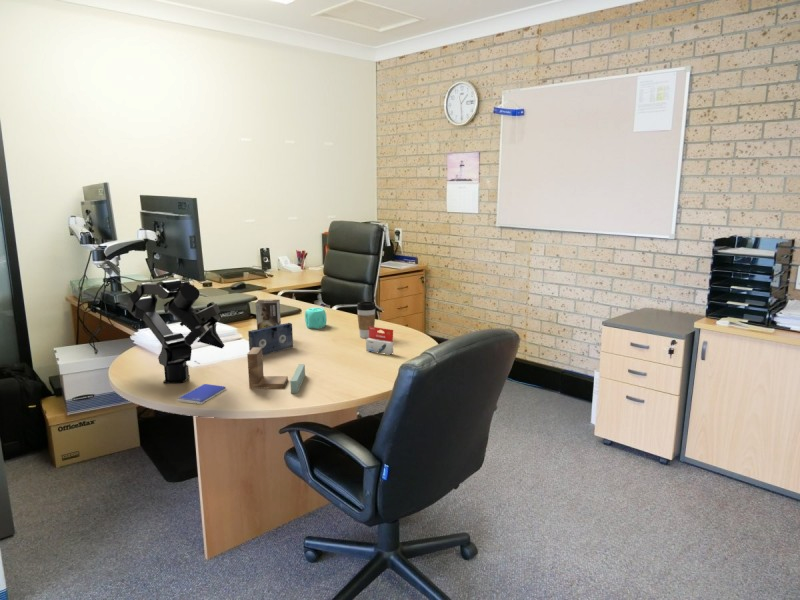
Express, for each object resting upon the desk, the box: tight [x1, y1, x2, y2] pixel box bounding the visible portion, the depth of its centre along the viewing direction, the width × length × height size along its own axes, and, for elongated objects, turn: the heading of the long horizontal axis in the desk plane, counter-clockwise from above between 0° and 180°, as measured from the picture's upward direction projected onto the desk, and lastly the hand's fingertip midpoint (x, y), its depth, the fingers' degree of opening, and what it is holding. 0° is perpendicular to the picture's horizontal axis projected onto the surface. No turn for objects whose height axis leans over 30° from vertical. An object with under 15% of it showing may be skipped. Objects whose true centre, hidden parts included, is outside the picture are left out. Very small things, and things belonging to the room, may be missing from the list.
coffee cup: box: [356, 301, 377, 339], centre depth 229 cm, size 8×8×15 cm
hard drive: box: [177, 383, 227, 405], centre depth 167 cm, size 2×8×12 cm
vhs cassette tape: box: [247, 322, 294, 356], centre depth 209 cm, size 18×3×10 cm, turn 135°
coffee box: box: [255, 299, 282, 330], centre depth 227 cm, size 9×6×16 cm
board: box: [289, 363, 306, 394], centre depth 176 cm, size 2×16×4 cm, turn 1°
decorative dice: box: [304, 307, 327, 330], centre depth 246 cm, size 8×8×8 cm
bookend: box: [246, 347, 289, 389], centre depth 175 cm, size 11×7×12 cm, turn 91°
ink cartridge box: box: [365, 326, 394, 355], centre depth 208 cm, size 2×11×10 cm, turn 62°
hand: (223, 347), depth 173 cm, fingers closed
